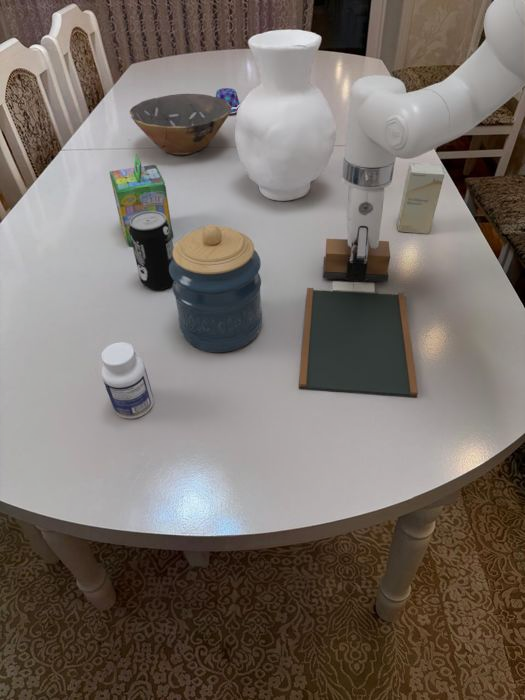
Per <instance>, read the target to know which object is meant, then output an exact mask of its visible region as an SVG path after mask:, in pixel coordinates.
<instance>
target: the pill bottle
mask: <svg viewBox="0 0 525 700" xmlns="http://www.w3.org/2000/svg"><path fill="white" fill-rule="evenodd" d="M101 361H102V364H103V365H102V367H101V378H102V381H103V383H104V386H105V389H106V392H107V394H108V397H109V399H110V402H111V406H112V408H113V410H114V412H115V414H116V415H118V416H119V417H121V418H122V419H123V418H124V419H129V420H131V419H138V418H140V417H142V416H144V415H146V414H147V413H148V412H149V411H150V410H151V408H152V407H153V405H154V395H153V394H154V393H153V390H152V387H151V384H150V380H149V376H148V372H147V368H146V364H145V362H144V360H143V359H142V358H141V357H140V356H139V355H137V354H136V351H135V348H134V346H133V345H132V344H130V343H128V342H122V341H121V342H113V343H112V344H109V345H108V346H106V347H105V348H104V349H103V351H102V353H101Z"/></svg>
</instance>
